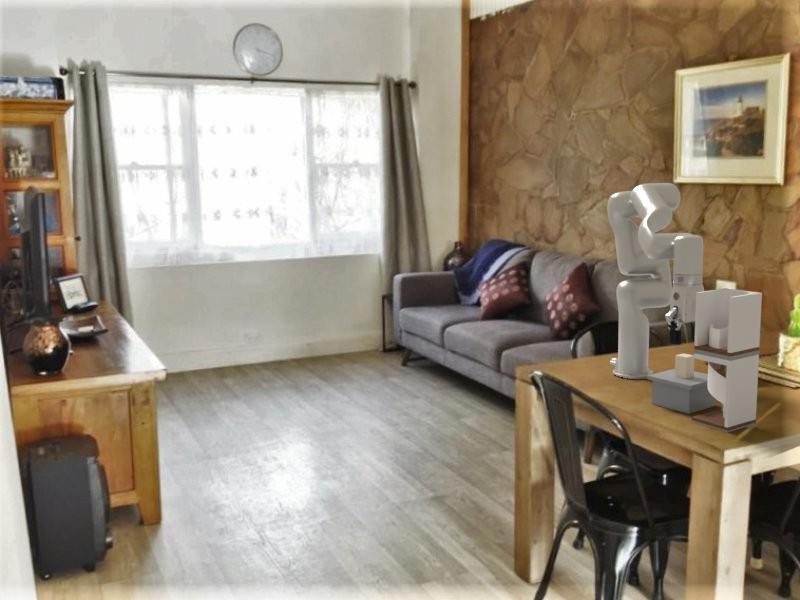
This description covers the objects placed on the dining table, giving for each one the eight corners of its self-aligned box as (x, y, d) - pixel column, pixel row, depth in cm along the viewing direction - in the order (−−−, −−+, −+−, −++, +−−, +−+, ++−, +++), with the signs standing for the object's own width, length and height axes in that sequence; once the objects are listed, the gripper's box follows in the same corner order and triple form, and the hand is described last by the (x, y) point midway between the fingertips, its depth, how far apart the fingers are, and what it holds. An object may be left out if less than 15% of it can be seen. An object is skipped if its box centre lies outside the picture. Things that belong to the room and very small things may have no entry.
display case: (719, 416, 206) (724, 288, 201) (755, 426, 197) (761, 292, 192) (691, 424, 200) (696, 292, 195) (727, 435, 191) (733, 297, 186)
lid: (647, 382, 216) (647, 354, 215) (678, 374, 224) (678, 347, 222) (690, 393, 204) (691, 363, 203) (721, 384, 212) (722, 356, 211)
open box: (651, 406, 217) (652, 379, 215) (678, 398, 223) (679, 372, 222) (688, 416, 207) (689, 388, 206) (715, 408, 213) (716, 380, 212)
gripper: (679, 284, 201) (678, 347, 204) (718, 278, 211) (717, 339, 213) (655, 282, 208) (654, 343, 210) (694, 276, 217) (693, 335, 219)
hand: (686, 341), depth 212 cm, fingers open, 9 cm apart
